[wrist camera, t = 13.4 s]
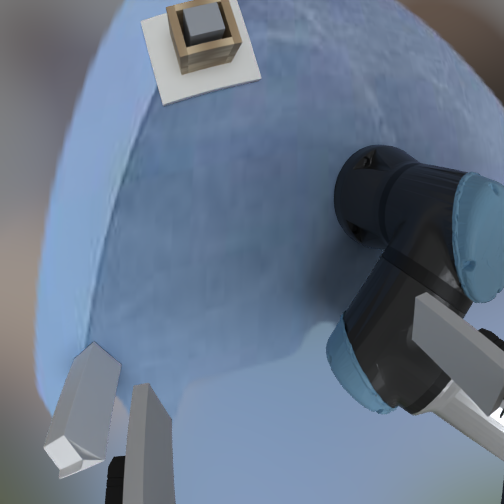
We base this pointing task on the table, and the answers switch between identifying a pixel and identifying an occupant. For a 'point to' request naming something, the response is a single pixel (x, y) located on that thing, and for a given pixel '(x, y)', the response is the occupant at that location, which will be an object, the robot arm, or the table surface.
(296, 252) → the table surface
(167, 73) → the post board
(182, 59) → the collar
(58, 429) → the milk
